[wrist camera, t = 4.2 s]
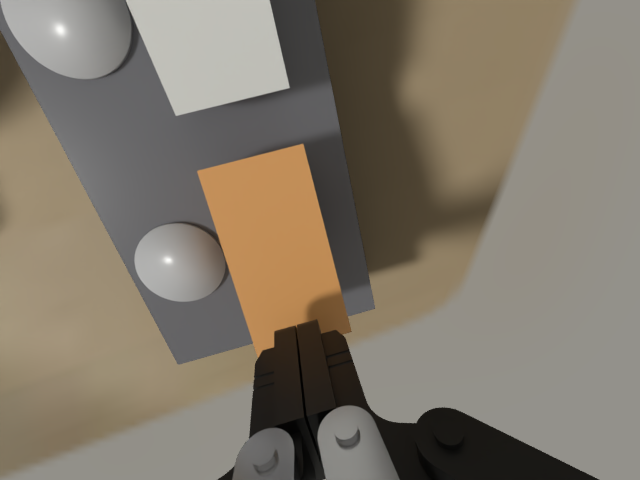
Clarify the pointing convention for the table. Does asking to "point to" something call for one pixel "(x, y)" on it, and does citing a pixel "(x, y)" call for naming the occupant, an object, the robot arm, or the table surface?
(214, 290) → the strip
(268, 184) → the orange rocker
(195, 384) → the table surface
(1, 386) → the table surface
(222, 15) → the block
